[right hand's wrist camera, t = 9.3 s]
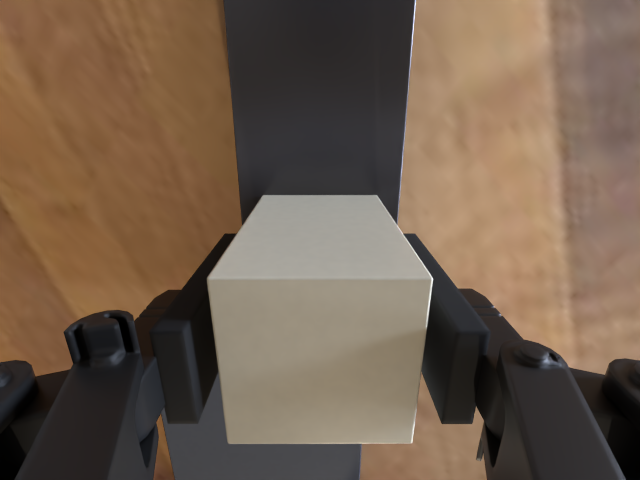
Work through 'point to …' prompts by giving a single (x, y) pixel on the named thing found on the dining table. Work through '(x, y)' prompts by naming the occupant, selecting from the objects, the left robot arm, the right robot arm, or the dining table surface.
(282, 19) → the dark grey long block
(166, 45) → the dining table surface
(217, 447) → the dark grey square plate
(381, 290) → the cap block
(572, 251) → the dining table surface
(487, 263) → the dining table surface
